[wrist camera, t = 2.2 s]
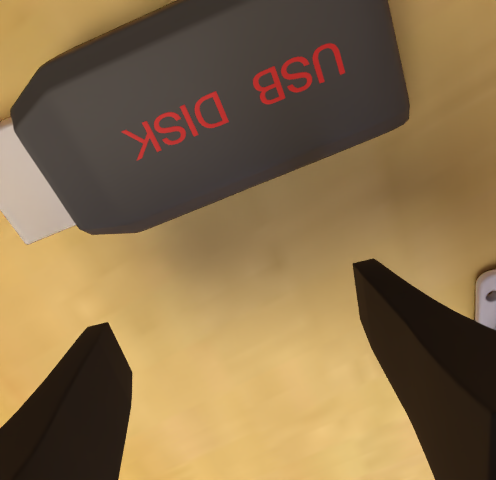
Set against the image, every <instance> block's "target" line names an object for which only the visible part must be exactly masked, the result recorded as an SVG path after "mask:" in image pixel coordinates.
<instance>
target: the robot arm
mask: <svg viewBox="0 0 496 480" xmlns="http://www.w3.org/2000/svg"><path fill="white" fill-rule="evenodd" d="M353 270H354V278H355V285H356V292H357V300H358V307H359V315H360V320H361V323H362V325H363V328H364V330H365V333H366V336H367V338H368V341H369V343H370V346H371V348H372V350H373V352H374V354H375V356H376V358H377V360H378V361H379V363H380V365H381V367H382V369H383V371H384V373H385V374H386V376H387V378H388V380H389V382H390V384H391V385H392V387H393V389H394V391H395V393H396V395H397V396H398V398H399V400H400V402H401V404H402V406H403V407H404V409H405V411H406V413H407V415H408V417H409V419H410V421H411V423H412V425H413V427H414V430H415V432H416V434H417V437H418V439H419V442H420V444H421V446H422V449H423V451H424V453H425V456H426V458H427V461H428V463H429V466H430V468H431V470H432V473H433V475H434V478H435V480H496V269H494V270H490V271H487V272H484V273H483V274H481V275H480V276H479V278H478V279H477V281H476V299H475V321H474V320H472V319H470V318H467V317H465V316H463V315H461V314H459V313H457V312H455V311H453V310H451V309H450V308H448V307H446V306H444V305H443V304H441V303H439V302H437V301H436V300H434V299H432V298H431V297H429V296H427V295H426V294H424V293H423V292H421V291H420V290H418V289H417V288H415V287H414V286H412V285H411V284H409V283H408V282H406V281H405V280H403V279H402V278H400V277H399V276H398V275H396V274H395V273H393V272H392V271H391V270H389V269H388V268H387V267H385V266H384V265H383V264H381V263H380V262H378V261H377V260H375V259H370V260H365V261H361V262H357V263H353ZM491 291H493V292H492V293H491V294H489V295H487V294H488V293H489V292H491ZM131 399H132V371H131V369H130V367H129V365H128V362H127V360H126V358H125V356H124V354H123V352H122V350H121V348H120V346H119V344H118V342H117V340H116V338H115V336H114V334H113V332H112V329H111V327H110V325H109V323H108V322H106V323H102V324H98V325H94V326H90V327H87V328H86V329H85V331H84V332H83V333H82V334H81V335H80V336H79V338H78V339H77V340H76V341H75V343H74V344H73V345H72V346H71V348H70V349H69V350H68V352H67V353H66V354H65V355H64V357H63V358H62V359H61V360H60V362H59V363H58V364H57V365H56V367H55V368H54V369H53V370H52V372H51V373H50V374H49V375H48V377H47V378H46V379H45V380H44V381H43V383H42V384H41V385H40V386H39V387H38V388H37V389H36V391H35V392H34V393H33V394H32V395H31V396H30V397H29V399H28V400H27V401H26V402H25V403H24V404H23V405H22V407H21V408H20V409H19V410H18V411H17V412H16V413H15V414H14V415H13V416H12V417H11V418H10V419H9V420H8V421H7V422H6V423H5V424H4V425H3V426H2V427H1V428H0V480H118V478H119V472H120V466H121V461H122V455H123V450H124V444H125V439H126V433H127V427H128V421H129V415H130V409H131Z"/></svg>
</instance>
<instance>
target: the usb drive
mask: <svg viewBox="0 0 496 480" xmlns="http://www.w3.org/2000/svg"><path fill="white" fill-rule="evenodd" d="M409 108H410V104H409V97H408V93H407V88H406V83H405V78H404V74H403V69H402V64H401V60H400V55H399V50H398V46H397V41H396V36H395V32H394V27H393V22H392V18H391V13H390V8H389V4H388V0H177V1H175V2H173V3H170V4H168V5H166V6H164V7H162V8H159V9H157V10H155V11H153V12H151V13H149V14H146V15H144V16H142V17H140V18H138V19H135V20H133V21H131V22H129V23H127V24H124V25H122V26H120V27H118V28H116V29H113V30H111V31H109V32H107V33H105V34H102V35H100V36H98V37H96V38H94V39H92V40H89V41H87V42H85V43H83V44H81V45H78V46H76V47H74V48H72V49H70V50H68V51H66V52H64V53H62V54H60V55H58V56H57V57H55V58H53V59H51V60H50V61H48V62H47V63H45V64H44V65H42V66H41V67H40V68H39V69H38V70H37V72H36V73H35V74H34V76H33V77H32V79H31V80H30V82H29V83H28V85H27V86H26V87H25V89H24V90H23V92H22V93H21V95H20V96H19V98H18V99H17V101H16V102H15V104H14V105H13V106H12V108H11V110H10V115H11V117H9V118H6V119H4V120H2V121H0V210H1V212H2V213H3V214H4V216H5V217H6V218H7V220H8V221H9V222H10V224H11V225H12V226H13V228H14V229H15V230H16V232H17V233H18V234H19V236H20V237H21V238H22V240H23V241H24V242H25V243H26V244H27V245H28V244H31V243H33V242H36V241H38V240H41V239H43V238H45V237H48V236H50V235H53V234H55V233H58V232H60V231H63V230H65V229H67V228H70V227H72V226H75V225H77V227H78V228H79V229H80V230H83V231H85V232H87V233H89V234H91V235H98V234H122V233H137V232H141V231H144V230H147V229H149V228H152V227H154V226H157V225H159V224H162V223H164V222H167V221H169V220H172V219H174V218H177V217H179V216H182V215H184V214H187V213H189V212H192V211H194V210H197V209H199V208H202V207H204V206H207V205H209V204H212V203H214V202H217V201H219V200H222V199H224V198H226V197H229V196H231V195H234V194H236V193H239V192H241V191H244V190H246V189H249V188H251V187H254V186H256V185H259V184H261V183H264V182H266V181H269V180H271V179H274V178H276V177H279V176H281V175H284V174H286V173H289V172H291V171H294V170H296V169H299V168H301V167H303V166H306V165H308V164H311V163H313V162H316V161H318V160H321V159H323V158H326V157H328V156H331V155H333V154H336V153H338V152H341V151H343V150H346V149H348V148H351V147H353V146H356V145H358V144H361V143H363V142H366V141H368V140H371V139H373V138H375V137H378V136H380V135H382V134H385V133H387V132H389V131H392V130H394V129H396V128H398V127H400V126H401V125H403V124H404V123H405V122H406V121H407V120H408V119H409Z"/></svg>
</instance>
